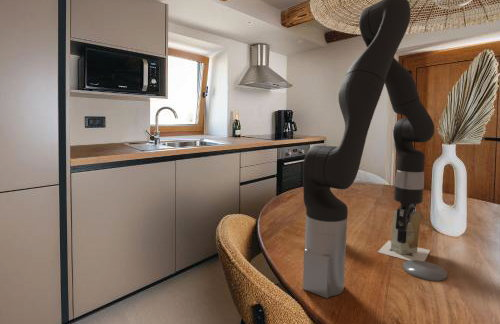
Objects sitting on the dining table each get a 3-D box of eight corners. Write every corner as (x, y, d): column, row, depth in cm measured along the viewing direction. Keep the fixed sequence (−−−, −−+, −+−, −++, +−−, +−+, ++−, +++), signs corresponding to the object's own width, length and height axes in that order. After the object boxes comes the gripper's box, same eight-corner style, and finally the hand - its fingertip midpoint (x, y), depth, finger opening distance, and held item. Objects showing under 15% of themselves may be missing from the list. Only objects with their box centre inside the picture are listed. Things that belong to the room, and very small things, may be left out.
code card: (422, 264, 81) (422, 264, 81) (377, 252, 89) (377, 251, 89) (430, 250, 90) (430, 250, 90) (388, 240, 98) (388, 240, 98)
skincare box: (400, 255, 87) (403, 214, 85) (390, 249, 91) (392, 210, 89) (418, 252, 88) (421, 213, 87) (407, 247, 93) (410, 209, 91)
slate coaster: (444, 285, 71) (444, 283, 71) (398, 272, 77) (398, 269, 77) (449, 269, 78) (449, 267, 78) (407, 258, 85) (407, 256, 85)
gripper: (418, 191, 79) (413, 249, 81) (427, 183, 90) (423, 234, 92) (388, 187, 84) (385, 242, 86) (401, 180, 95) (397, 229, 97)
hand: (405, 238), depth 89 cm, fingers open, 8 cm apart
